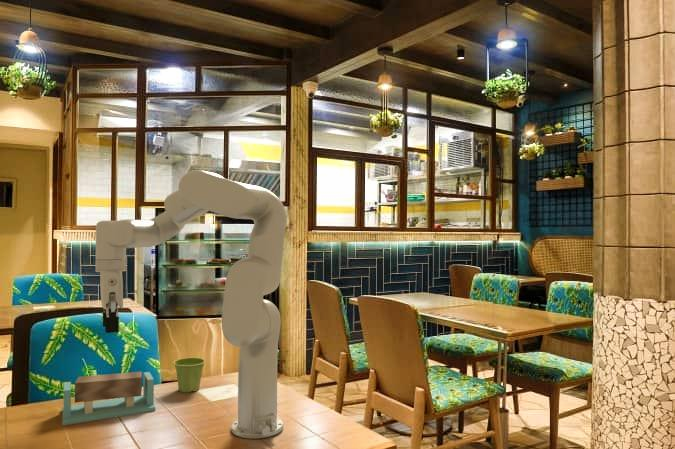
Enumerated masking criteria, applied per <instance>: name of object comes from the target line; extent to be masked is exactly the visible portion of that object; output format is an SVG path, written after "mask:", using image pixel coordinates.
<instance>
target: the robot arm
mask: <svg viewBox="0 0 675 449" xmlns="http://www.w3.org/2000/svg"><path fill="white" fill-rule="evenodd" d="M163 203H164V204H163V206H164V209H165V211H163V212H162V213H161V214H160V213H159V215H157V216H155V217H153V218H151V219H130V218H129V219H120V220H99V221H98V222H97V223H96V225H95V272H96V273H99V274H100V278H99V279H100V281H99V284H100V286H99V287H100V302H101V307H102V308H103V312H102V327H104V332H105V334H111V333H118V332H119V331H120V330H119V329H120V317H119V308H120V309H123V308H124V292H123V291H124V288H123V287H124V284H123V272H127V249H130V248H131V249H134V248H136V249H137V248H150V247H155V246H158V245H160V244H162V243H164V242H166V241H168V240H169V239H171V238H174V237H175V236H176V235H178V234H179V233H180V232H181V231H182V230H183V229H184V227H185V226H186V224H188V223H189V222H191V221H193V220H195V219H197V218H198V217H200V216H202V215H204V214H206V213H208V212H212V213H215V214H218V215H220V216H223V217H228V218H231V219H236V220H237V219H240V220H241V219H242V220H252V221H253V223H254V224H253V227H252V229H251V232H250V235H249V240H248V251H247V255H246V256H247V257H245V258H244V257H243V258H242V259H238V260H237V261H236V262H234V264H232V266H231V267H230V269H229V270H228V272H227V275H226V279H225V284H224V294H223V302H222V310H221V311H222V312H221V331H222V335H223V336H224V338H225V340H226V341H227V342H228V343H229V344H231V345H232V346H234V347H239V349H238V364H237V365H238V366H237V367H238V368H237V369H238V371H237V373H238V375H237V376H238V377H237V382H238V383H237V386H238V387H237V388H238V389H237V419H236V420H235V421H233V423H231V426H230V427H231V430H230V431H231V432H232V434H233V435H235V436H237V437H239V438H243V439H253V440H254V439H255V440H257V439H265V438H270V437H273V436H275V435H277V434H279V433H281V431H283V429H284V422H283V420H282V419H281V418H279V417H278V364H279V362H278V354H279V353H278V352H279V349H278V348H279V338H280V332H281V327H282V326H281V324H282V322H281V314H280V310H279V309H278V307H277V306H276V305H275V304H274V303H273V302H272V301H270V300H268V299H264V296H266V295H269V294H271V293H273V292H275V291H276V290H277V289H278V287H279V285H280V283H281V278H282V267H283V259H284V257H283V256H284V249H285V248H284V244H285V236H286V230H287V229H286V228H287V211H286V208H285V206H284V204H283V202H282V200H281V199H280V198H279V197H278V196H277V195H276V194H275V193H274V192H272V191H270V190H269V189H267V188H264V187H262V186H259V185H254V184H248V183H243V182H238V181H234V180H230V179H229V178H225V177H223V176H222V175H220V174H218V173H215V172H212V171H207V170H202V169H194V170H190V171H188V172H186V173H185V174H183V176H182V177H181V178H180V181H179V183H178V190H176V191H174V192H171V193H169V195H166V197H165V198H164V202H163Z"/></svg>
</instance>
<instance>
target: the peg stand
mask: <svg viewBox="0 0 675 449" xmlns="http://www.w3.org/2000/svg"><path fill="white" fill-rule="evenodd" d="M154 383H155V379H154V376H153V375H152V374H151V372H150V371H146V372H143V374H142V386H143V387H142V388H143V389H142V391H143V393H142V394H141V396H136V397H126V398H116V399H106V400H97V401H86V402H84V403H79V404H72V382H71V381H65V382H64V381H63V406H62V421H61V422H62V426H68V425H69V426H70V425H75V424H80V423H87V422H93V421H99V420H104V419H105V420H106V419H114V418H118V417H125V416H130V415H136V414H143V413H149V412H155V411H156V405H155V403H154V402H155V399H154V397H155V394H154V389H155V384H154Z"/></svg>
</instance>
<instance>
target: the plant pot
mask: <svg viewBox="0 0 675 449" xmlns="http://www.w3.org/2000/svg"><path fill="white" fill-rule="evenodd" d="M205 363H206V360H205V359H204V358H202V357H183V358H179V359H175V360H174V361H173V365H174V368H175V371H176V379H177V385H178V386H177V389H178V391H180V392H181V393H191V392H197V391H199V389H200V387H201V385H200V384H201V379H202V373H203V372H202V371H203V367H204V366H205V365H204V364H205Z"/></svg>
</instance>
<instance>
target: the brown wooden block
mask: <svg viewBox="0 0 675 449" xmlns="http://www.w3.org/2000/svg"><path fill="white" fill-rule="evenodd" d="M142 386H143V371H132V372H131V371H130V372H121V373H111V374H110V373H108V374H98V375H96V374H95V375H84V376H78V377H77V379H76V380H75V383H74V403H83V402H86V401H93V402H97V401H105V400H112V399H119V398H126V397H136V396H141V395H142V391H143V389H142V388H143V387H142Z"/></svg>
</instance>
